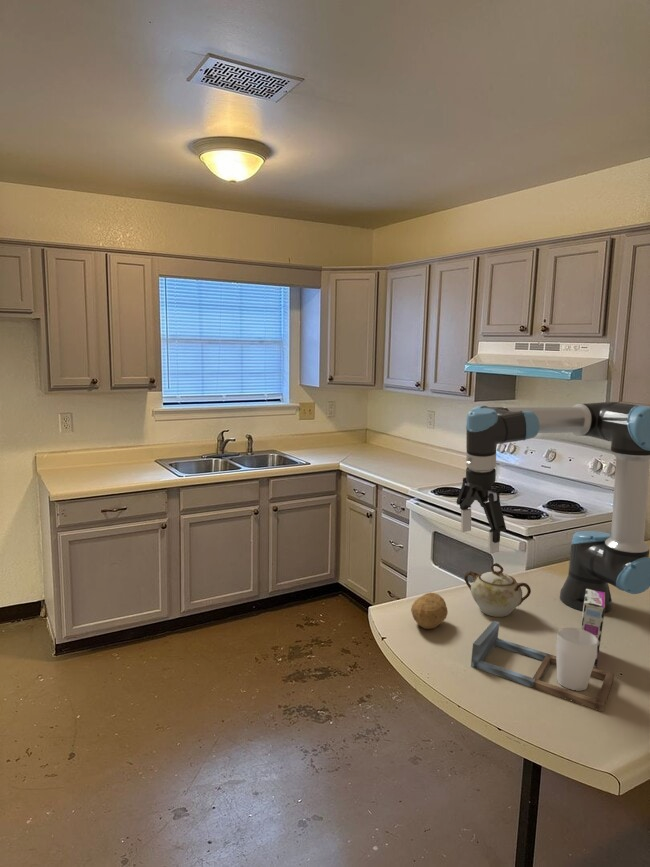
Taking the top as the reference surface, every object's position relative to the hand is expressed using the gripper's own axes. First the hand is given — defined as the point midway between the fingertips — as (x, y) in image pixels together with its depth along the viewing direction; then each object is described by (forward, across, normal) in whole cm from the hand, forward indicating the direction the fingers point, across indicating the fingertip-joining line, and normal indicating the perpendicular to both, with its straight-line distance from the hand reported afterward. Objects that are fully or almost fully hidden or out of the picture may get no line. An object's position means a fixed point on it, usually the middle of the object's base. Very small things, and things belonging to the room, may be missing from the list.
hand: (479, 541), depth 160 cm
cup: (+24, +31, +6) cm, 40 cm away
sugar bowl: (+29, -8, +10) cm, 32 cm away
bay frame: (+24, +25, +2) cm, 35 cm away
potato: (+25, -4, -14) cm, 29 cm away
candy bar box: (+27, +22, +19) cm, 40 cm away
